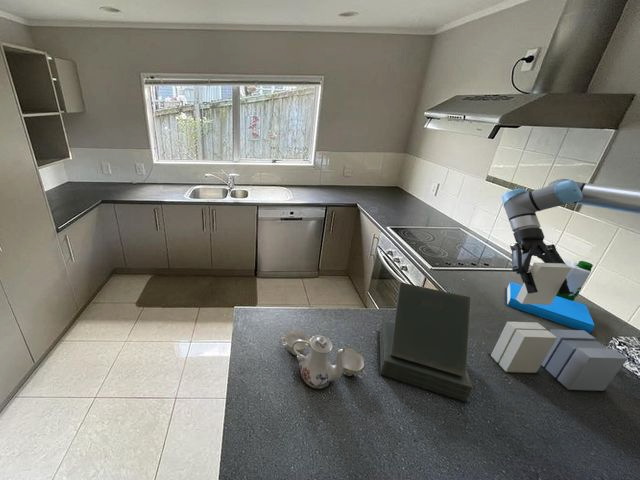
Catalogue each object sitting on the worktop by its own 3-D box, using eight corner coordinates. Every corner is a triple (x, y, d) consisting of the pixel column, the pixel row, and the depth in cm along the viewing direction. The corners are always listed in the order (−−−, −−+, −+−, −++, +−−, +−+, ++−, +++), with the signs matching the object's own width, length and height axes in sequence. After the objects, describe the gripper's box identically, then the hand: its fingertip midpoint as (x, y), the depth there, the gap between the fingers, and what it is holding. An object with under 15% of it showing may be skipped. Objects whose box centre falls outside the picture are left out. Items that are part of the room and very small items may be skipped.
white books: (490, 355, 96) (507, 321, 91) (519, 356, 97) (537, 322, 91) (506, 371, 90) (524, 336, 85) (536, 372, 91) (557, 337, 85)
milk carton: (572, 308, 122) (595, 269, 114) (543, 298, 128) (564, 260, 120) (571, 299, 128) (593, 261, 120) (544, 290, 134) (563, 254, 126)
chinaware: (363, 366, 92) (373, 324, 87) (364, 410, 77) (376, 361, 72) (281, 342, 101) (286, 302, 96) (268, 377, 86) (272, 331, 81)
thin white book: (515, 299, 98) (533, 262, 92) (543, 300, 98) (563, 263, 92) (521, 303, 96) (540, 266, 90) (550, 304, 96) (571, 267, 90)
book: (509, 281, 133) (586, 303, 118) (506, 289, 134) (581, 312, 120) (510, 298, 120) (596, 325, 106) (506, 306, 122) (590, 334, 107)
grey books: (534, 358, 96) (551, 328, 91) (565, 359, 96) (584, 329, 91) (568, 389, 85) (590, 357, 80) (603, 390, 85) (628, 358, 80)
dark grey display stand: (380, 374, 88) (398, 311, 78) (379, 332, 105) (394, 275, 95) (465, 402, 80) (497, 336, 71) (449, 352, 97) (474, 293, 88)
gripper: (547, 235, 104) (570, 296, 95) (487, 232, 104) (505, 293, 95) (568, 227, 97) (596, 292, 88) (504, 225, 97) (525, 290, 88)
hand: (549, 293), depth 92 cm, fingers closed on thin white book, 10 cm apart
